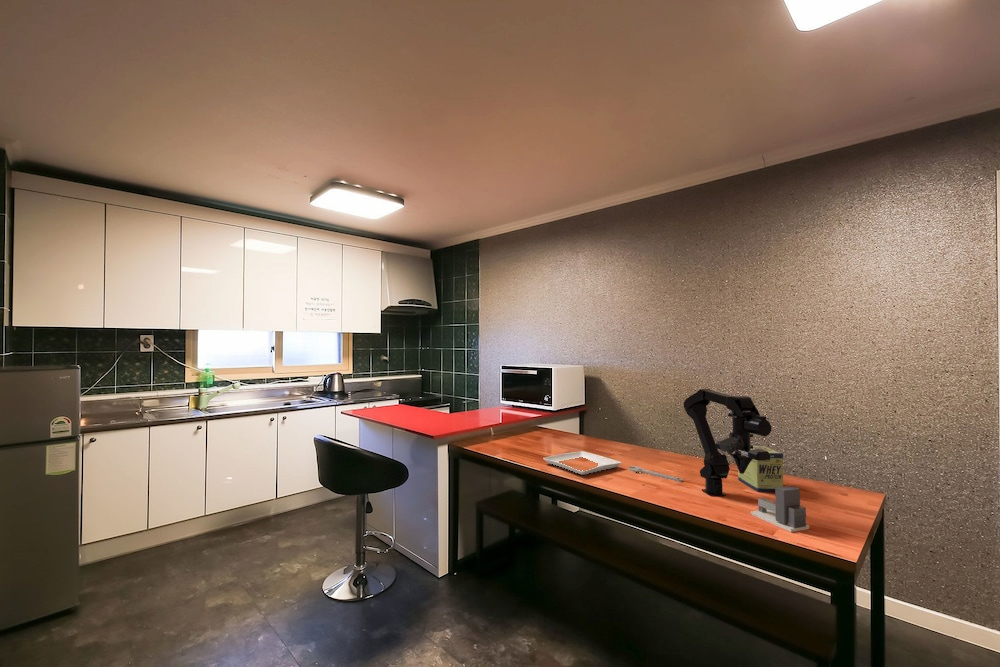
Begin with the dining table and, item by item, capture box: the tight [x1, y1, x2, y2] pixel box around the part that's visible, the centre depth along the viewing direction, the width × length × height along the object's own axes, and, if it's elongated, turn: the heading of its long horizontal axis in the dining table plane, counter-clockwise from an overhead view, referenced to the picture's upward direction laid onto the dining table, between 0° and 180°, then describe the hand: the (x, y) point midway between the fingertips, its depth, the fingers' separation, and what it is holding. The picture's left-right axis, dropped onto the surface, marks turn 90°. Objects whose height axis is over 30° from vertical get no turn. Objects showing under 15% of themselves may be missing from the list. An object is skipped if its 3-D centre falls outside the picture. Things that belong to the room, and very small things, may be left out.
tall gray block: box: [774, 485, 801, 524], centre depth 137 cm, size 3×7×11 cm, turn 107°
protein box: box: [737, 444, 784, 493], centre depth 176 cm, size 10×16×16 cm
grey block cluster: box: [757, 497, 807, 528], centre depth 140 cm, size 14×5×6 cm, turn 17°
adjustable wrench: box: [628, 465, 683, 483], centre depth 188 cm, size 25×6×2 cm, turn 40°
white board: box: [750, 509, 810, 533], centre depth 140 cm, size 14×8×1 cm, turn 17°
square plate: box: [542, 450, 622, 475], centre depth 202 cm, size 27×27×4 cm
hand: (741, 473), depth 153 cm, fingers closed
